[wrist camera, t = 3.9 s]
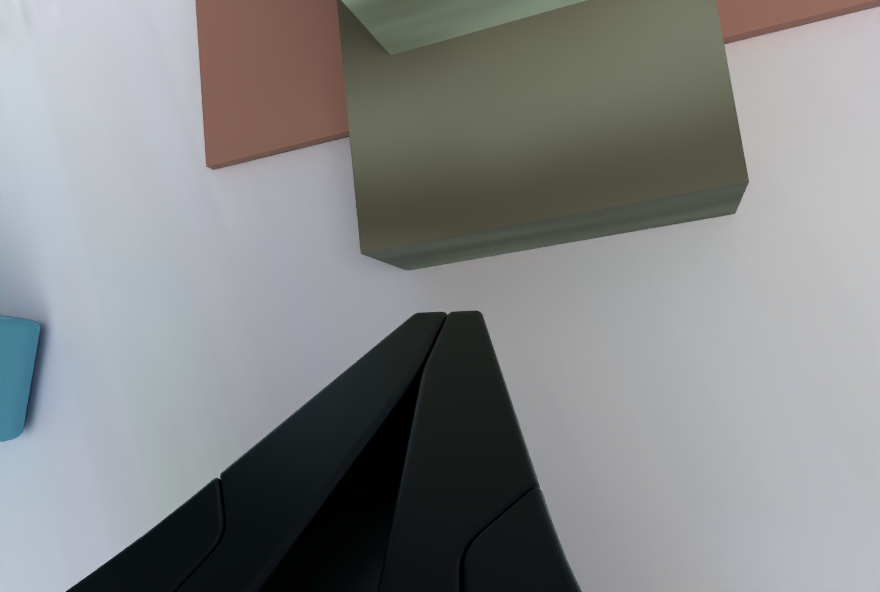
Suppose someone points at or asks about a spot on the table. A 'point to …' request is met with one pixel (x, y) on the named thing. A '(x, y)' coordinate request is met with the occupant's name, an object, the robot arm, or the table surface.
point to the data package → (16, 372)
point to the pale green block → (439, 18)
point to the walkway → (541, 130)
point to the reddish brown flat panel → (321, 67)
